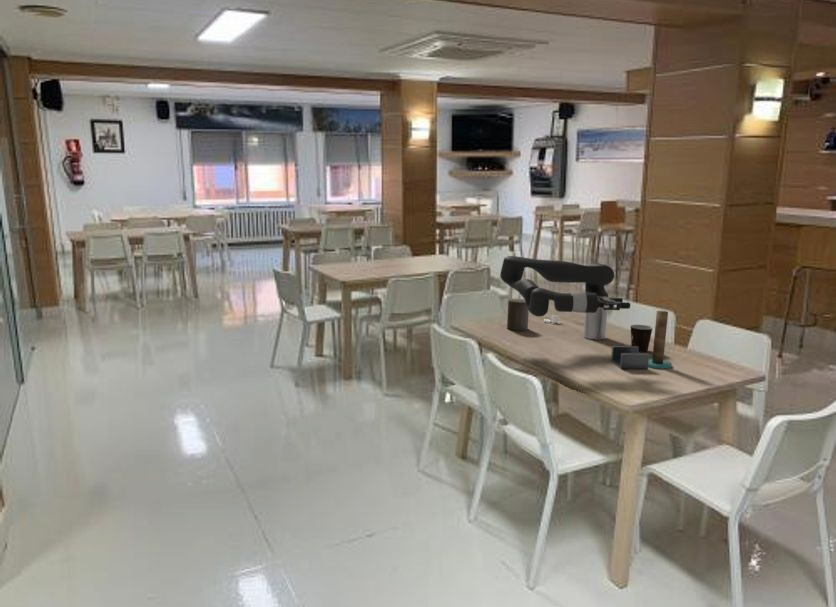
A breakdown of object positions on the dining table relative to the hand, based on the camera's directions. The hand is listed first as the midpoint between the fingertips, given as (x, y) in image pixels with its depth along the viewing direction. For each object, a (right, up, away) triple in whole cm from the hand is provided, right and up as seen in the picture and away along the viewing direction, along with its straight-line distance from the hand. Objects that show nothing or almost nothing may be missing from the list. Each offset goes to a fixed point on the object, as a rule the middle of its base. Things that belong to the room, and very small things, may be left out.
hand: (626, 303), depth 240 cm
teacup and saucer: (-12, -10, +76) cm, 78 cm away
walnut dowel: (+14, -23, +5) cm, 27 cm away
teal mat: (+14, -24, +5) cm, 28 cm away
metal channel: (+3, -24, +5) cm, 24 cm away
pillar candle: (-31, -12, +60) cm, 69 cm away
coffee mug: (+13, -20, +25) cm, 34 cm away
